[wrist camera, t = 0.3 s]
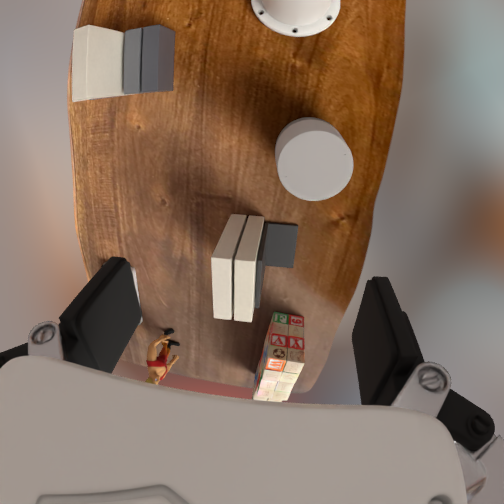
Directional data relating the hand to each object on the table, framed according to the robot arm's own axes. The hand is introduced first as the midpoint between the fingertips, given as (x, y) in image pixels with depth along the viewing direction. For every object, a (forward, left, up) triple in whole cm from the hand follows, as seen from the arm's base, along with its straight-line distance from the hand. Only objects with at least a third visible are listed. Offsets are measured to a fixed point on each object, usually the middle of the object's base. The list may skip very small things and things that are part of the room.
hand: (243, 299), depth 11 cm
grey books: (-13, -22, -36) cm, 44 cm away
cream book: (-13, -24, -36) cm, 45 cm away
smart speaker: (0, +4, -36) cm, 36 cm away
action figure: (+43, -21, -36) cm, 60 cm away
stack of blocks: (+42, +3, -36) cm, 56 cm away
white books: (+17, -1, -36) cm, 40 cm away
